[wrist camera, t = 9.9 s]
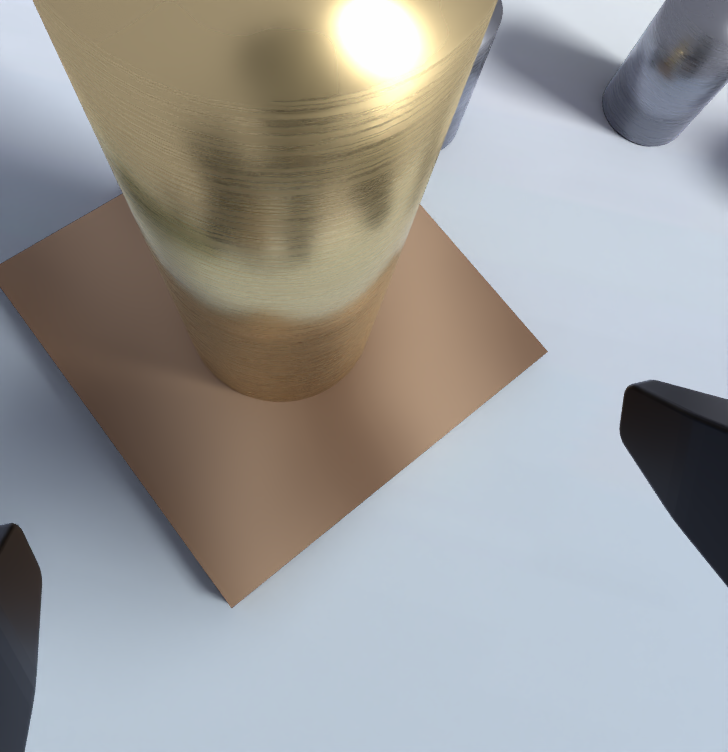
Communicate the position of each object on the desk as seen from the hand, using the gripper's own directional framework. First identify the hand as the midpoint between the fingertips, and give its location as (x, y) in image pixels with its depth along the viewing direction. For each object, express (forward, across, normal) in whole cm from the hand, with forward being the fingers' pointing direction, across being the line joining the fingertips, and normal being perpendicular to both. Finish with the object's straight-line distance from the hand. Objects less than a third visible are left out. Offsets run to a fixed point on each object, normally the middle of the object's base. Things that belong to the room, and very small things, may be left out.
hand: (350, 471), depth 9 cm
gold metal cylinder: (+9, 0, +1) cm, 9 cm away
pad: (+10, 0, +2) cm, 10 cm away
